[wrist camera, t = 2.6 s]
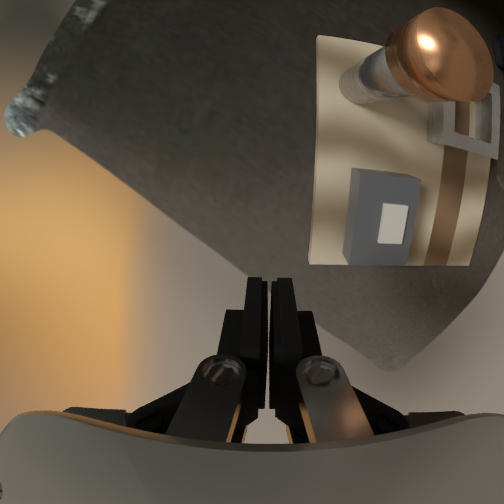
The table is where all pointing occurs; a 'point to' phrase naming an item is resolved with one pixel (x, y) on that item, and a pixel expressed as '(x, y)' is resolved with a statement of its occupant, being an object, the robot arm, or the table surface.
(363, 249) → the block
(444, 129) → the socket
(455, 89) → the awl
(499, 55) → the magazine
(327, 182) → the board
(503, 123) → the table surface
